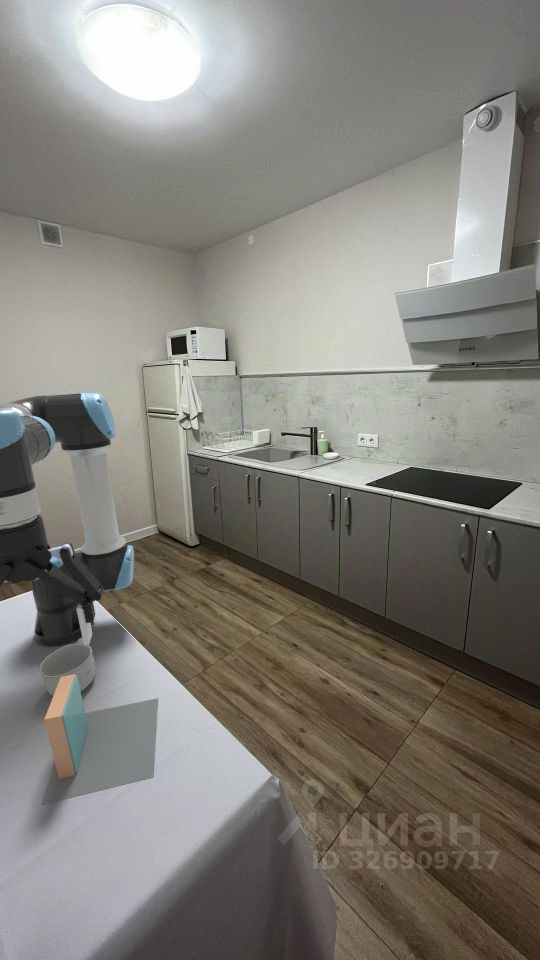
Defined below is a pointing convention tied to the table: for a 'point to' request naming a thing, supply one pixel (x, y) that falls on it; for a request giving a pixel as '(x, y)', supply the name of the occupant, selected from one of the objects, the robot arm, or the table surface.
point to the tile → (67, 726)
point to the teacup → (68, 665)
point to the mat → (111, 751)
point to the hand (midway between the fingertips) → (41, 647)
